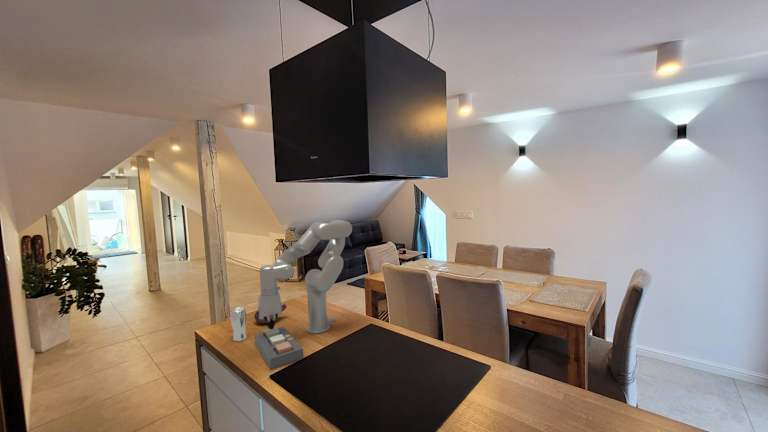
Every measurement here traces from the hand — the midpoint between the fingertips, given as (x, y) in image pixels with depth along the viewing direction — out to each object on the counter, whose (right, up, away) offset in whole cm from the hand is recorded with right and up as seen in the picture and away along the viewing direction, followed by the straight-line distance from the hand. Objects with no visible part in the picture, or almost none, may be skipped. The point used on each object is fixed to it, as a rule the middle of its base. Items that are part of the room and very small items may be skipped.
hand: (271, 328), depth 152 cm
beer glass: (-18, -8, +6) cm, 21 cm away
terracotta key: (+10, -5, -14) cm, 19 cm away
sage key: (0, -4, 0) cm, 4 cm away
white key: (+5, -5, -7) cm, 10 cm away
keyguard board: (+5, -8, -7) cm, 12 cm away
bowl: (-10, -6, +27) cm, 30 cm away
